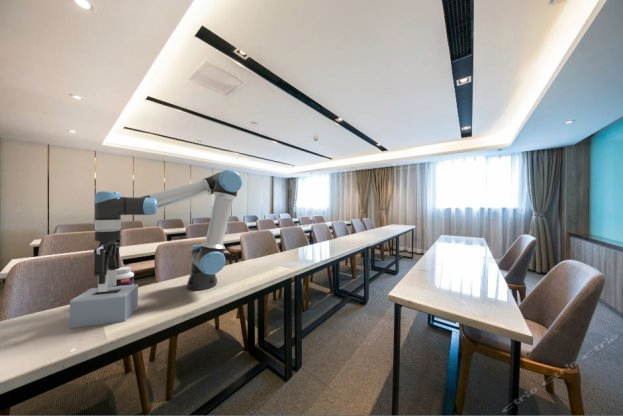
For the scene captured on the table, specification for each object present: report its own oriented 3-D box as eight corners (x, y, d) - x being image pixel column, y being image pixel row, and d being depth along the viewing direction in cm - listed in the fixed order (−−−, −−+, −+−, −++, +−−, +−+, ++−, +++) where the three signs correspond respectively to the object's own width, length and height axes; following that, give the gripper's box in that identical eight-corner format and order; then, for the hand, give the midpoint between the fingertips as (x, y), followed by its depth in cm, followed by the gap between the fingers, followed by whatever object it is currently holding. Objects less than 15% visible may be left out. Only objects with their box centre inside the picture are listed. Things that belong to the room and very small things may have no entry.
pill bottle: (120, 303, 97) (120, 271, 97) (106, 301, 99) (106, 270, 98) (138, 296, 105) (138, 266, 105) (124, 294, 106) (125, 265, 106)
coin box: (137, 307, 94) (138, 284, 94) (124, 321, 83) (125, 295, 82) (90, 312, 88) (90, 288, 88) (69, 328, 77) (70, 300, 77)
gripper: (108, 228, 93) (108, 281, 93) (80, 233, 75) (79, 299, 75) (130, 227, 95) (129, 279, 95) (107, 233, 78) (106, 296, 78)
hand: (107, 288), depth 85 cm, fingers open, 5 cm apart
